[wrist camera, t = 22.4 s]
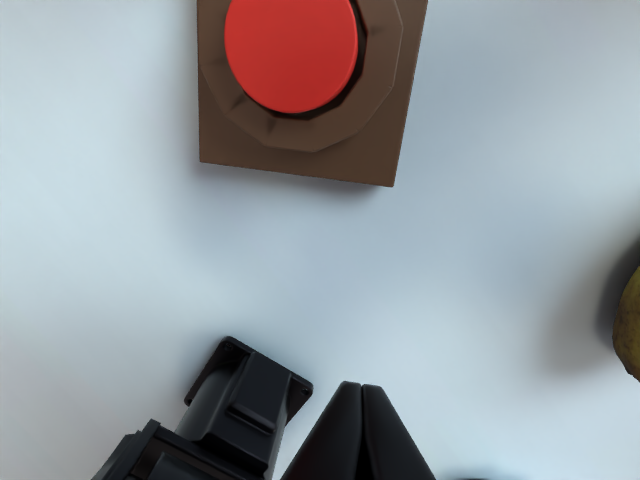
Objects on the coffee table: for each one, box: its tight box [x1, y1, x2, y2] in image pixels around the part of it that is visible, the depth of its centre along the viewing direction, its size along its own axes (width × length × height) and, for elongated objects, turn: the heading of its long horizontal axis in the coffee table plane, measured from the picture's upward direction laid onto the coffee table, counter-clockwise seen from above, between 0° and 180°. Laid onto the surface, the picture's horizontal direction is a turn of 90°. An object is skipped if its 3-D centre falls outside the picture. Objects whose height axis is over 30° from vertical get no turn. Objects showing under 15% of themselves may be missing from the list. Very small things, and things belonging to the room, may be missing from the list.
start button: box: [224, 0, 358, 113], centre depth 13 cm, size 4×4×2 cm
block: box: [197, 0, 428, 187], centre depth 15 cm, size 10×9×4 cm
